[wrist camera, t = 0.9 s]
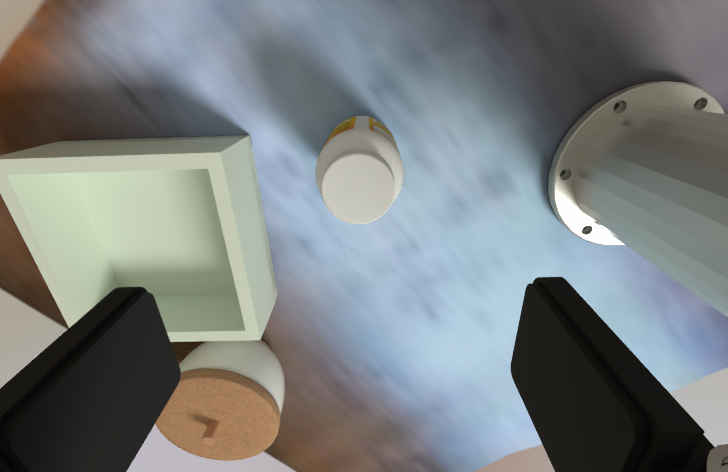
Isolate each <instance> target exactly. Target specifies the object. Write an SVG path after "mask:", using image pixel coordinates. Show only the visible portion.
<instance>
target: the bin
mask: <svg viewBox="0 0 728 472" xmlns="http://www.w3.org/2000/svg"><path fill="white" fill-rule="evenodd" d="M0 194H1V196H2V198H3V199H4V201H5V203H6V205H7V207H8V209H9V211H10V213H11V215H12V217H13V219H14V221H15V223H16V225H17V227H18V229H19V231H20V233H21V235H22V237H23V239H24V241H25V242H26V244H27V246H28V248H29V250H30V252H31V254H32V256H33V258H34V260H35V262H36V264H37V266H38V268H39V270H40V272H41V274H42V276H43V278H44V280H45V282H46V284H47V286H48V287H49V289H50V291H51V293H52V295H53V297H54V299H55V301H56V303H57V305H58V307H59V309H60V311H61V313H62V315H63V317H64V319H65V321H66V323H67V325H68V327H69V328H70V327H71V326H72V325H73V324H75V323H76V322H77V321H78V320H79V319H80V318H81V317H83V316H84V315H85V314H86V313H87V312H88V311H89V310H91V309H92V308H93V307H94V306H95V305H96V304H97V303H99V302H100V301H101V300H102V299H103V298H104V297H105V296H107V295H108V294H109V293H110V292H111V291H112V290H114V289H115V288H118V287H144V288H145V289H146V290H147V291H148V292H149V293H152V294H153V296H154V298H155V301H156V303H157V306H158V309H159V312H160V314H161V317H162V320H163V323H164V325H165V328H166V331H167V334H168V337H169V339H170V342H191V341H249V340H261V337H262V335H263V332H264V330H265V327H266V325H267V322H268V320H269V317H270V315H271V312H272V309H273V307H274V304H275V302H276V299H277V297H278V294H277V288H276V282H275V277H274V271H273V265H272V259H271V253H270V247H269V242H268V236H267V230H266V224H265V218H264V212H263V207H262V201H261V195H260V189H259V183H258V178H257V172H256V166H255V160H254V154H253V148H252V143H251V137H250V135H231V136H201V137H171V138H141V139H110V140H80V141H58V142H54V143H50V144H46V145H42V146H38V147H34V148H30V149H26V150H21V151H17V152H13V153H9V154H5V155H1V156H0Z"/></svg>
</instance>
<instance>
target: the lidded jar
mask: <svg viewBox="0 0 728 472" xmlns="http://www.w3.org/2000/svg"><path fill="white" fill-rule="evenodd" d="M179 367H180V370H181V377H180V381H179V384H178V386H177V388H176V389H175V391H174V393H173V394H172V396H171V398H170V399H169V401H168V403H167V404H166V406H165V408H164V409H163V411H162V413H161V414H160V416H159V418H158V419H157V421H156V423H155V424H156V426H157V428H158V429H159V430H160V432H161V433H162V434H163V435H164V436H165V437H166V438H167V439H168V440H169V441H170V442H172V443H173V444H174V445H176V446H177V447H179V448H181V449H183V450H185V451H187V452H189V453H191V454H194V455H197V456H200V457H204V458H208V459H215V460H225V461H226V460H240V459H245V458H249V457H252V456H255V455H257V454H259V453H261V452H263V451H264V450H265V449H267V448H268V447H269V446H270V445H271V444H272V443H273V441H274V440H275V438H276V436H277V434H278V430H279V425H280V416H281V412H282V407H283V402H284V394H285V382H284V375H283V370H282V367H281V364H280V362H279V360H278V358H277V357H276V355H275V354H274V353H273V352H272V350H271V349H270V347H269V346H268V345H267V344H266V343H265V342H264V341H263V340H249V341H206V342H204V343H202V344H201V345H199V346H198V347H197V348H195V349H194V350H193V351H191V352H190V353H189V354H188V355H187V356H186V357H185V358H184V359H183V361H182V362H181V363H180V364H179Z"/></svg>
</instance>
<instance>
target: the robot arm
mask: <svg viewBox="0 0 728 472" xmlns="http://www.w3.org/2000/svg"><path fill="white" fill-rule="evenodd" d="M614 105H615V107H614ZM562 170H563V171H562ZM561 171H562V173H561ZM560 173H561V174H560ZM548 192H549V198H550V203H551V206H552V208H553V210H554V213H555V215H556V216H557V217H558V219H559V220H560V221H561V223H562V224H563V225H564V226H565V227H567V228H568V229H569V230H570V231H571V232H572V233H574V234H575V235H577V236H578V237H580V238H582V239H584V240H587V241H590V242H592V243H596V244H603V245H626V246H627V247H629V248H630V249H632V250H633V251H634V252H636V253H637V254H639V255H640V256H642V257H643V258H644V259H646V260H647V261H649V262H650V263H651V264H653V265H654V266H656V267H657V268H659V269H660V270H661V271H663V272H664V273H666V274H667V275H668V276H670V277H671V278H673V279H674V280H676V281H677V282H678V283H680V284H681V285H683V286H684V287H686V288H687V289H688V290H690V291H691V292H693V293H694V294H695V295H697V296H698V297H700V298H701V299H703V300H704V301H705V302H707V303H708V304H710V305H711V306H712V307H714V308H715V309H717V310H718V311H720V312H721V313H722V314H724V315H725V316H727V317H728V114H725V112H724V110H723V108H722V106H721V105H720V104H719V103H718V102H717V100H716V99H715V98H714V97H713V96H712V95H711V94H709V93H707V92H706V91H704V90H703V89H701V88H700V87H696V86H693V85H690V84H687V83H682V82H671V81H657V82H646V83H642V84H637V85H633V86H630V87H627V88H625V89H622V90H620V91H618V92H615V93H613V94H611V95H610V96H608V97H606V98H605V99H603V100H601V101H600V102H598V103H597V104H595V105H594V106H593V107H592V108H591V109H589V110H588V111H587V112H586V113H585V114H583V115H582V116H581V117H580V118H579V120H578V121H577V122H576V123H575V124H574V125H573V126H572V127H571V128H570V130H569V131H568V133H567V134H566V136H565V137H564V139H563V140H562V142H561V143H560V145H559V147H558V149H557V151H556V154H555V156H554V158H553V161H552V165H551V169H550V173H549V181H548ZM511 374H512V378H513V380H514V383H515V385H516V387H517V389H518V391H519V394H520V396H521V398H522V400H523V402H524V404H525V407H526V409H527V411H528V413H529V415H530V418H531V420H532V422H533V424H534V426H535V429H536V431H537V433H538V435H539V437H540V439H541V442H542V444H543V446H544V448H545V450H546V452H547V455H548V457H549V459H550V461H551V464H552V466H553V468H554V470H555V472H728V444H726V445H718V446H717V447H714V446H713V445H712V444H711V443H710V442H709V441H708V439H707V438H706V437H705V436H704V435H703V434H704V430H703V429H702V428H701V427H700V426H699V425H698V424H697V423H696V422H695V421H694V420H693V418H692V417H691V416H690V415H689V414H688V413H687V412H686V411H685V410H684V409H683V408H682V407H681V405H680V404H679V403H678V402H677V401H676V400H675V399H674V398H673V397H672V396H671V394H670V393H669V392H668V391H667V390H666V389H665V388H664V387H663V386H662V385H661V383H660V382H659V381H658V380H657V379H656V378H655V377H654V376H653V375H652V374H651V373H650V371H649V370H648V369H647V368H646V367H645V366H644V365H643V364H642V363H641V362H640V360H639V359H638V358H637V357H636V356H635V355H634V354H633V353H632V352H631V351H630V350H629V348H628V347H627V346H626V345H625V344H624V343H623V342H622V341H621V340H620V339H619V338H618V336H617V335H616V334H615V333H614V332H613V331H612V330H611V329H610V328H609V327H608V326H607V324H606V323H605V322H604V321H603V320H602V319H601V318H600V317H599V316H598V315H597V313H596V312H595V311H594V310H593V309H592V308H591V307H590V306H589V305H588V304H587V303H586V301H585V300H584V299H583V298H582V297H581V296H580V295H579V294H578V293H577V292H576V291H575V289H574V288H573V287H572V286H571V285H570V284H569V283H568V282H567V281H566V280H565V279H564V278H563V277H538V278H536V279H535V280H534V282H533V284H528V285H527V287H526V291H525V296H524V301H523V306H522V311H521V316H520V321H519V326H518V331H517V336H516V341H515V346H514V351H513V356H512V361H511ZM180 377H181V370H180V367H179V364H178V361H177V359H176V356H175V353H174V350H173V348H172V345H171V342H170V339H169V337H168V334H167V331H166V328H165V325H164V323H163V320H162V317H161V314H160V312H159V309H158V306H157V303H156V301H155V298H154V296H153V294H152V293H149V292H148V291H147V290H146V289H145V288H144V287H118V288H115V289H114V290H112V291H111V292H110V293H109V294H108V295H107V296H105V297H104V298H103V299H102V300H101V301H100V302H99V303H97V304H96V305H95V306H94V307H93V308H92V309H91V310H89V311H88V312H87V313H86V314H85V315H84V316H83V317H81V318H80V319H79V320H78V321H77V322H76V323H75V324H73V325H72V326H71V327H70V328H69V329H68V330H67V331H66V332H64V333H63V334H62V335H61V336H60V337H59V338H57V339H56V340H55V341H54V342H53V343H52V344H51V345H49V346H48V348H46V349H45V350H44V351H43V352H42V353H40V354H39V355H38V356H37V357H36V358H35V359H34V360H32V361H31V362H30V363H29V364H28V365H27V366H26V367H24V368H23V369H22V370H21V371H20V372H19V373H18V374H17V375H15V376H14V377H13V378H12V379H11V380H10V381H8V382H7V383H6V384H5V385H4V386H3V387H2V388H1V389H0V472H126V471H127V469H128V468H129V466H130V464H131V463H132V461H133V460H134V458H135V456H136V454H137V453H138V451H139V449H140V448H141V446H142V444H143V443H144V441H145V439H146V438H147V436H148V434H149V433H150V431H151V429H152V428H153V426H154V424H155V423H156V421H157V419H158V418H159V416H160V414H161V413H162V411H163V409H164V408H165V406H166V404H167V403H168V401H169V399H170V398H171V396H172V394H173V393H174V391H175V389H176V388H177V386H178V384H179V381H180Z"/></svg>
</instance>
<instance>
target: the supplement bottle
mask: <svg viewBox="0 0 728 472" xmlns="http://www.w3.org/2000/svg"><path fill="white" fill-rule="evenodd" d="M403 175H404V173H403V164H402V160H401V157H400V154H399V151H398V148H397V145H396V142H395V139H394V137H393V135H392V133H391V132H390V130H389V129H388V128H387V127H386V126H385V125H384V124H383V123H382V122H381V121H379V120H377V119H375V118H372V117H369V116H354V117H350V118H348V119H346V120H344V121H342V122H341V123H339V124H338V125H337V126H336V127H335V128H334V130H333V131H332V132H331V134H330V136H329V138H328V140H327V142H326V143H325V145H324V147H323V148H322V150H321V152H320V155H319V157H318V160H317V164H316V182H317V185H318V188H319V190H320V193H321V194H322V198H323V201H324V203H325V205H326V206H327V208H328V209H329V211H330V212H331V213H332V214H333V215H335V216H336V217H337V218H339V219H341V220H343V221H345V222H348V223H353V224H364V223H369V222H372V221H374V220H376V219H378V218H380V217H381V216H382V215H383V214H385V213H386V212H387V210H388V209H389V208H390V206H391V204H392V203H393V201H394V200H395V199H396V197H397V196H398V194H399V192H400V190H401V187H402V183H403Z"/></svg>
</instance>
